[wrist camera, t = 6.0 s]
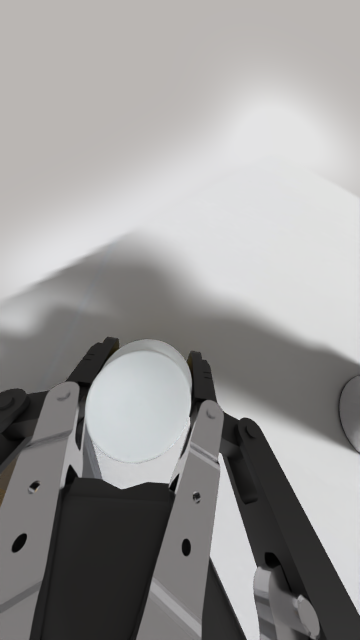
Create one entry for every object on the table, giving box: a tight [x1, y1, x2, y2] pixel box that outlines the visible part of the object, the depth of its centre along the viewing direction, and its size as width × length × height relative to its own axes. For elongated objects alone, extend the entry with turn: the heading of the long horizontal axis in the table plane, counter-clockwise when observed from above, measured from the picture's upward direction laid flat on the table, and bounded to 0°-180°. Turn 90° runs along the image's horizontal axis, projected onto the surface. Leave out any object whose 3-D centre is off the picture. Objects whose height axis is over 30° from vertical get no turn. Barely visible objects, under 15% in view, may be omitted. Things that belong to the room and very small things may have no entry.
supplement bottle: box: [85, 339, 192, 463], centre depth 10 cm, size 5×5×10 cm
